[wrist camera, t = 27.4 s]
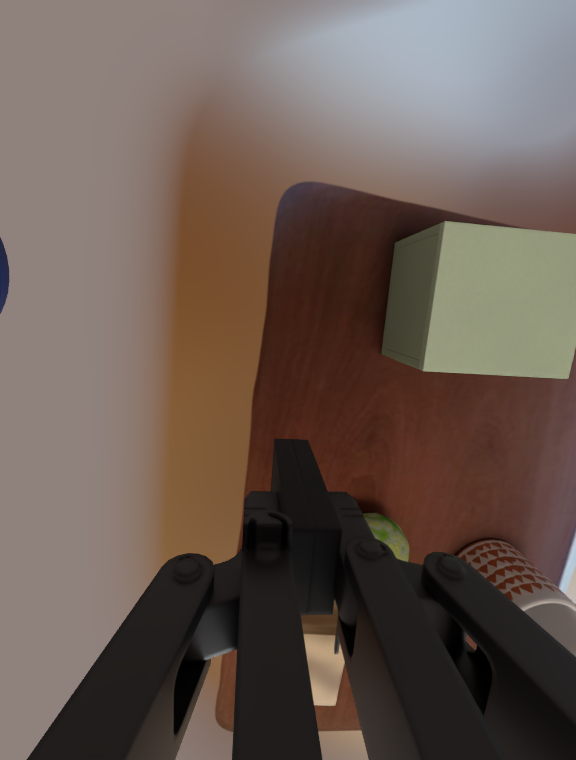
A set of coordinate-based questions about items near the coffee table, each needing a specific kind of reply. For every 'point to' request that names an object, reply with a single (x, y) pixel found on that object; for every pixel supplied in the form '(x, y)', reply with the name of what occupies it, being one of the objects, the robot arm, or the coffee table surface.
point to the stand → (323, 656)
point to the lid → (501, 302)
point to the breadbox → (409, 296)
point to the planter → (525, 587)
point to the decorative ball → (388, 534)
